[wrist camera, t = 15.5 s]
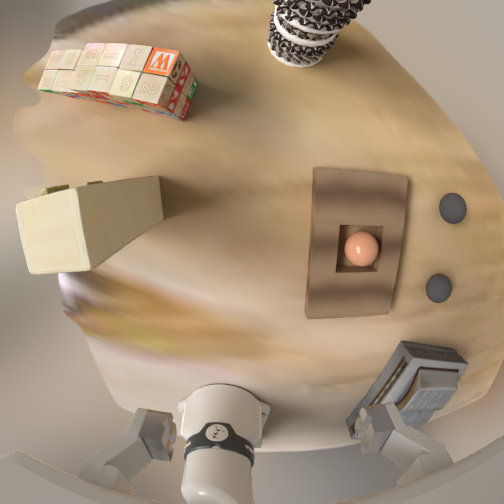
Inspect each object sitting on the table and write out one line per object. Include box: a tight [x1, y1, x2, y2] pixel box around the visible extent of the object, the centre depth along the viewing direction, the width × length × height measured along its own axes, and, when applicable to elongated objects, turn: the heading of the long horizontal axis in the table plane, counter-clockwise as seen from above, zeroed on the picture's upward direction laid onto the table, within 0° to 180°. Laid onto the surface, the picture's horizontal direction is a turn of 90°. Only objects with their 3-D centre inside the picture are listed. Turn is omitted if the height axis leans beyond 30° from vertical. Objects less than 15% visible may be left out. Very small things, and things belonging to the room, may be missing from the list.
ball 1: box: [426, 274, 452, 303], centre depth 40 cm, size 5×5×5 cm
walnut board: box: [305, 168, 408, 319], centre depth 39 cm, size 22×14×2 cm, turn 0°
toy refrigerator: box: [16, 176, 164, 274], centre depth 28 cm, size 8×7×21 cm
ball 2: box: [439, 193, 466, 224], centre depth 36 cm, size 5×5×5 cm
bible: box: [346, 341, 468, 439], centre depth 46 cm, size 23×27×10 cm
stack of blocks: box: [38, 43, 198, 121], centre depth 27 cm, size 21×6×12 cm, turn 70°
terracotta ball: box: [345, 231, 378, 266], centre depth 38 cm, size 5×5×5 cm
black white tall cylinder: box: [268, 0, 371, 68], centre depth 19 cm, size 9×9×25 cm
